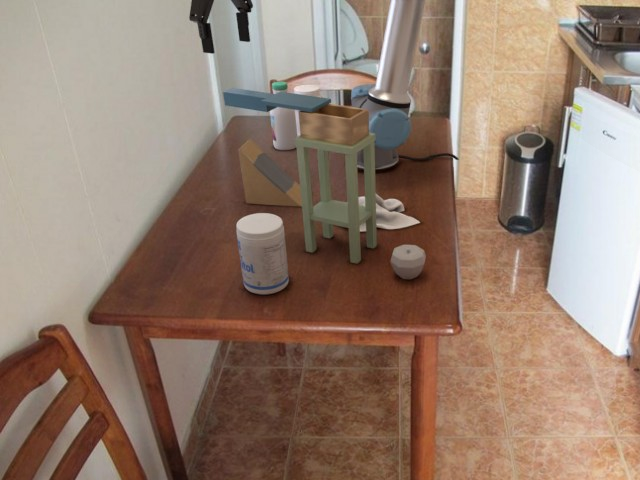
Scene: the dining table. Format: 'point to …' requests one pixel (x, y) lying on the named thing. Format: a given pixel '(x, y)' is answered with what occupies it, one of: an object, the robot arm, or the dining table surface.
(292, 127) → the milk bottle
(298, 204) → the sandwich container
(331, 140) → the tea box
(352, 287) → the dining table surface
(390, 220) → the cloth
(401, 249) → the apple
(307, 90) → the jar
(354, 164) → the stand
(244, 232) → the supplement tub
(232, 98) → the lid
